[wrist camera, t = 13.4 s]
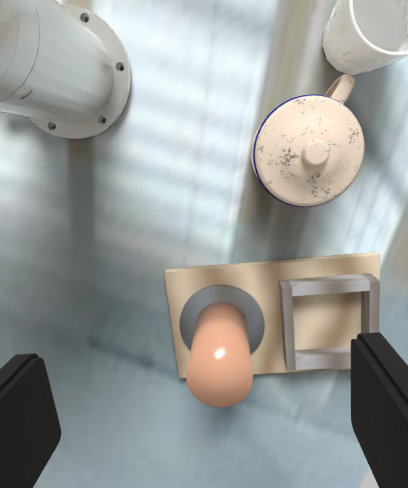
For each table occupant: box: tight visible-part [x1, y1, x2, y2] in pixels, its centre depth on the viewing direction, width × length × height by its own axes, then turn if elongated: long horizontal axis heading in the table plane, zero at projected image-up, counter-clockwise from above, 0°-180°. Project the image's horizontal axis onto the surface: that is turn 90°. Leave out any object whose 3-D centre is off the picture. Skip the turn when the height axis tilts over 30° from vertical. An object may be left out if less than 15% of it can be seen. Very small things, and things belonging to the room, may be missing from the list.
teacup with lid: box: [250, 74, 364, 207], centre depth 32 cm, size 12×9×12 cm
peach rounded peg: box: [186, 302, 253, 407], centre depth 37 cm, size 8×6×10 cm
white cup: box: [322, 0, 408, 75], centre depth 30 cm, size 8×8×10 cm
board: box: [164, 252, 380, 378], centre depth 41 cm, size 24×14×4 cm, turn 96°
